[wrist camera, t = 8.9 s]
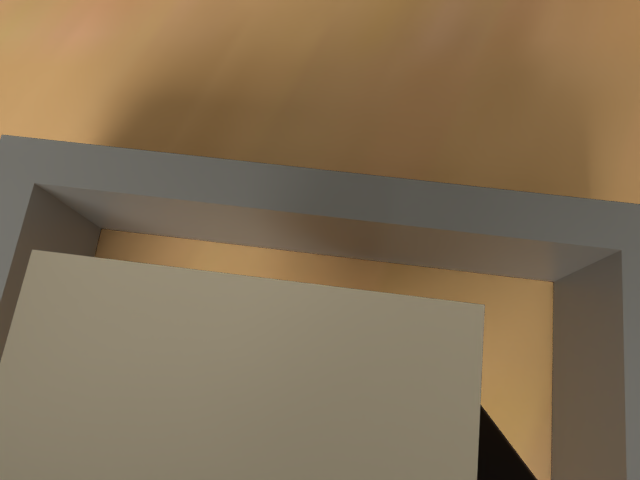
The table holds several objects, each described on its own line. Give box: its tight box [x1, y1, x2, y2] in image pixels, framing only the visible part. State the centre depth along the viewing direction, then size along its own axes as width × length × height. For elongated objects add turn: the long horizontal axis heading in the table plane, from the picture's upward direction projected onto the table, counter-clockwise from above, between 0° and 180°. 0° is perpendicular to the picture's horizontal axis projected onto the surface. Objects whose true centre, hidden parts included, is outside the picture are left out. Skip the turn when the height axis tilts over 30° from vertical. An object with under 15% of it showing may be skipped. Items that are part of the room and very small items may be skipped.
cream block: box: [0, 250, 485, 480], centre depth 9 cm, size 5×5×9 cm
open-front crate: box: [0, 135, 640, 480], centre depth 17 cm, size 14×21×5 cm, turn 83°
